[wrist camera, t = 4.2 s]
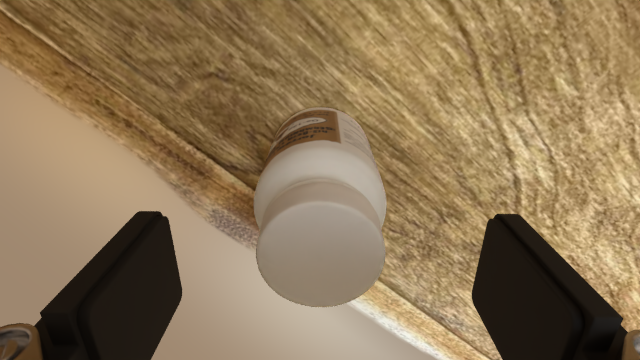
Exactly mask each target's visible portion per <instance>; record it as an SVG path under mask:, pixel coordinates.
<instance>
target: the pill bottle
mask: <svg viewBox="0 0 640 360" xmlns="http://www.w3.org/2000/svg"><path fill="white" fill-rule="evenodd" d="M386 207H387V203H386V194H385V190H384V186H383V183H382V179H381V176H380V174H379V171H378V168H377V165H376V162H375V159H374V157H373V153H372V151H371V148H370V145H369V142H368V140H367V137H366V135H365V133H364V131H363V129H362V128H361V126H360V125H359V124H358V123H357V122H356V121H355V120H354V119H353V118H352V117H350V116H349V115H347V114H345V113H344V112H341V111H339V110H336V109H332V108H327V107H314V108H308V109H305V110H302V111H300V112H297V113H296V114H294V115H293V116H291V117H290V118H289V119H288V120H286V121H285V122H284V123H283V125H282V126H281V127H280V129H279V130H278V132H277V134H276V136H275V138H274V141H273V143H272V145H271V148H270V151H269V154H268V157H267V159H266V162H265V165H264V167H263V170H262V173H261V176H260V178H259V181H258V184H257V187H256V190H255V195H254V214H255V218H256V222H257V225H258V227H259V229H260V233H259V237H258V242H257V248H256V258H257V264H258V268H259V271H260V273H261V275H262V277H263V278H264V280H265V281H266V283H267V284H268V285H269V286H270V287H271V288H272V289H273V290H274V291H275V292H276V293H278V294H279V295H280V296H282V297H284V298H286V299H287V300H289V301H292V302H295V303H298V304H301V305H305V306H311V307H329V306H336V305H340V304H343V303H347V302H349V301H351V300H354V299H356V298H357V297H359V296H360V295H362V294H364V293H365V292H366V291H367V290H368V289H370V288H371V287H372V286H373V284H374V283H375V282H376V280H377V279H378V277H379V276H380V274H381V272H382V269H383V266H384V262H385V243H384V238H383V235H382V230H381V228H382V225H383V223H384V219H385V215H386Z"/></svg>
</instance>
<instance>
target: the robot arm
mask: <svg viewBox="0 0 640 360" xmlns="http://www.w3.org/2000/svg"><path fill="white" fill-rule="evenodd" d="M181 297H182V287H181V281H180V277H179V271H178V266H177V261H176V256H175V250H174V245H173V240H172V235H171V230H170V225H169V220H168V218H167V217H166V216H163V215H162V214H161V212H158V211H156V212H154V211H139V212H137V213H136V214H135V215H134V216H133V217H132V218H131V219H130V220H129V221H128V222H127V223H126V224H125V225H124V226H123V227H122V228H121V230H120V231H119V232H118V233H117V234H116V235H115V236H114V237H113V238H112V239H111V240H110V241H109V242H108V243H107V244H106V245H105V246H104V247H103V248H102V249H101V250H100V251H99V252H98V253H97V254H96V255H95V256H94V257H93V259H92V260H91V261H89V263H88V264H87V265H86V266H85V267H84V268H83V269H82V270H81V271H80V272H79V273H78V274H77V275H76V276H75V277H74V278H73V279H72V280H71V281H70V282H69V283H68V284H67V285H66V286H65V287H64V288H63V289H62V290H61V291H60V293H58V295H57V296H56V297H55V298H54V299H53V300H52V301H51V302H50V303H49V304H48V305H47V306H46V307H45V308H44V309H43V310H42V311H41V312H40V314H41V317H42V318H41V319H40V320H39V321H38V322H37V323H36V325H35V326H32V325H30V324H23V323H17V324H11V325H6V326H3V327H0V360H151V358H152V356H153V354H154V352H155V350H156V348H157V346H158V344H159V342H160V340H161V338H162V336H163V334H164V333H165V331H166V329H167V327H168V325H169V323H170V320H171V319H172V317H173V315H174V313H175V311H176V309H177V307H178V305H179V303H180V301H181ZM472 300H473V304H474V306H475V308H476V310H477V312H478V313H479V315H480V317H481V319H482V321H483V323H484V325H485V327H486V329H487V331H488V332H489V334H490V336H491V338H492V340H493V342H494V344H495V346H496V348H497V350H498V352H499V353H500V355H501V357H502V359H503V360H640V330H633V331H631V332H629V333H628V332H627V331H626V330H625V329H624V328H623V327H622V326H621V322H622V320H623V318H622V317H621V316H620V315H619V314H618V313H617V312H616V311H615V310H614V309H613V308H612V307H611V306H610V305H609V304H608V303H607V302H606V301H605V300H604V299H603V298H602V297H601V296H600V295H599V294H598V293H597V292H596V291H595V290H594V289H593V288H592V287H591V286H590V285H589V284H588V283H587V282H586V281H585V280H584V279H583V278H582V277H581V276H580V275H579V274H578V273H577V272H576V271H575V270H574V269H573V268H572V267H571V266H570V265H569V264H568V263H567V262H566V261H565V260H564V259H563V258H562V257H561V256H560V255H559V254H558V253H557V252H556V251H555V250H554V249H553V248H552V247H551V246H550V245H549V244H548V243H547V242H546V241H545V240H544V239H543V238H542V237H541V236H540V235H539V234H538V233H537V232H536V231H535V230H534V229H533V228H532V227H531V226H530V225H529V224H528V223H527V222H526V221H525V220H524V219H523V218H522V217H521V216H520V215H518V214H497V215H495V217H494V218H493V219H490V220H489V221H488V223H487V227H486V231H485V236H484V240H483V245H482V249H481V254H480V258H479V263H478V267H477V272H476V276H475V281H474V285H473V290H472Z"/></svg>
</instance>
